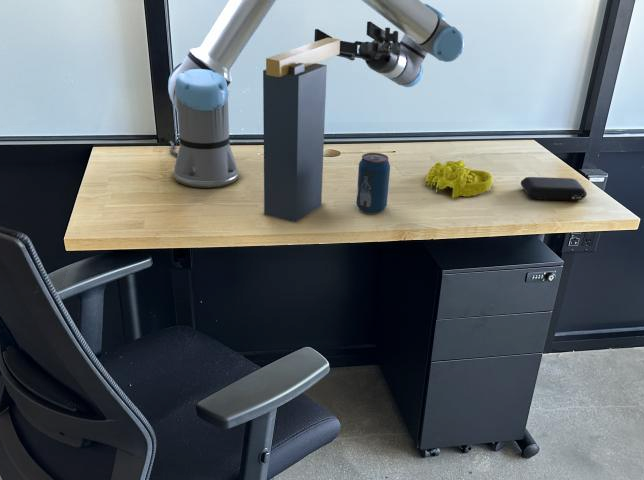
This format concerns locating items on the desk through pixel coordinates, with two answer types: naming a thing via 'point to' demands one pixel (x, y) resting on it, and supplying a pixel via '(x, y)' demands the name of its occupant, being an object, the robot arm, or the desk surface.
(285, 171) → the door post
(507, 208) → the desk surface
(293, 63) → the bar
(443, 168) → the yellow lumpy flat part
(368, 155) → the soda can
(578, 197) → the carrying case
